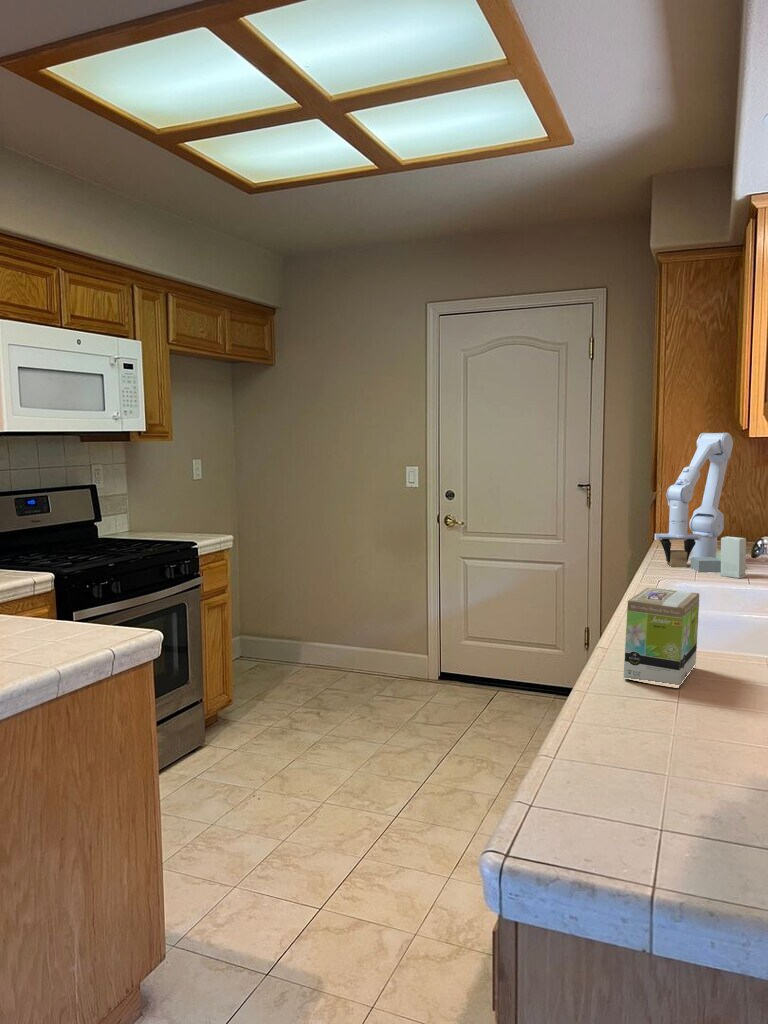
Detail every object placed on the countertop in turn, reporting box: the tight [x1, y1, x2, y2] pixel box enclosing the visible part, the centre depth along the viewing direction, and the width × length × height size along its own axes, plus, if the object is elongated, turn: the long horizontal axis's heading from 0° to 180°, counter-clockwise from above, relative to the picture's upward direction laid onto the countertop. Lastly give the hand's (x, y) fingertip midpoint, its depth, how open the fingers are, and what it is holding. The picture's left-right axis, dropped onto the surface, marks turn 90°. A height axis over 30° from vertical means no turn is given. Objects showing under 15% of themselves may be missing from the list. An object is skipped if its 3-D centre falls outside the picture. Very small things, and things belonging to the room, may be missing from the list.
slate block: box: [690, 556, 721, 573], centre depth 242 cm, size 7×7×4 cm
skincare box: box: [720, 535, 747, 579], centre depth 231 cm, size 6×4×12 cm
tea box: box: [623, 587, 700, 685], centre depth 138 cm, size 15×10×15 cm, turn 148°
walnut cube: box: [666, 549, 688, 568], centre depth 250 cm, size 5×5×5 cm
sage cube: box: [716, 551, 721, 560], centre depth 246 cm, size 5×5×5 cm
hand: (676, 561), depth 251 cm, fingers closed on walnut cube, 5 cm apart
